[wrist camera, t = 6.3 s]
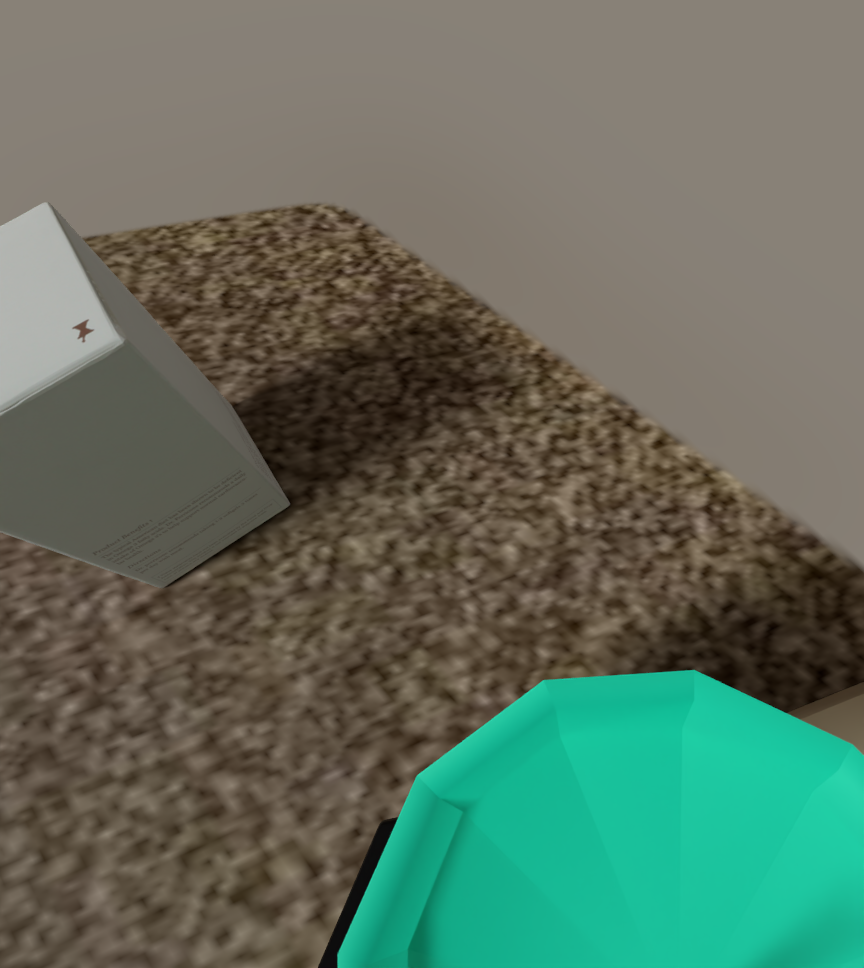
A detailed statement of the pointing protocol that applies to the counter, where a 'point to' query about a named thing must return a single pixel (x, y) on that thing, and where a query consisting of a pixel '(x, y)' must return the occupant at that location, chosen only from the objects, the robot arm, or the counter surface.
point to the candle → (625, 838)
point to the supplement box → (111, 420)
